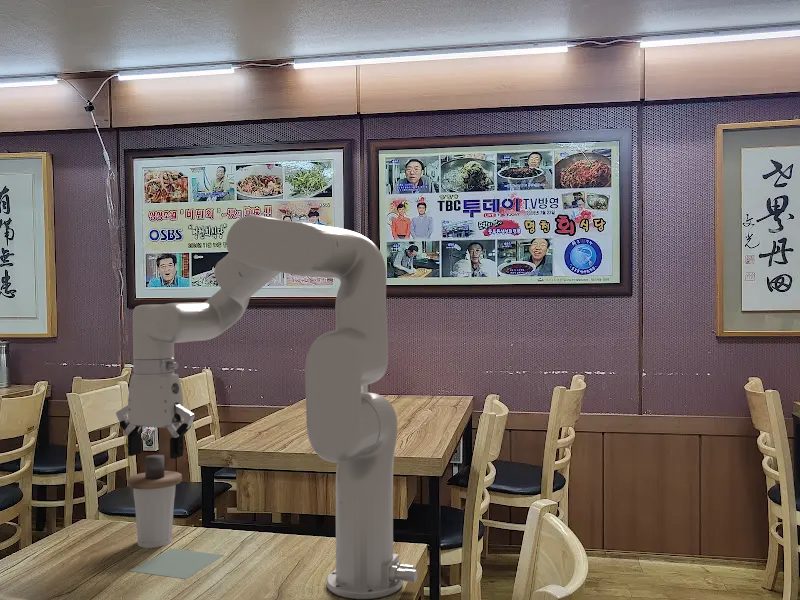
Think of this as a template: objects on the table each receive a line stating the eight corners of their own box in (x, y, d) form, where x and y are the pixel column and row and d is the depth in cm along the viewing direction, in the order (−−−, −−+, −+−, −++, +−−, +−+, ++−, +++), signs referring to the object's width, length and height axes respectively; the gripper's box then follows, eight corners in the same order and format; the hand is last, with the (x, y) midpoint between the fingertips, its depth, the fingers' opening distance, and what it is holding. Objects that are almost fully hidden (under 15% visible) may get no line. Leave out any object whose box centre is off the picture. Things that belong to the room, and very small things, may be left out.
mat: (223, 557, 130) (223, 555, 130) (186, 581, 119) (186, 578, 119) (170, 550, 133) (170, 548, 133) (129, 573, 122) (129, 570, 122)
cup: (162, 552, 132) (162, 488, 132) (124, 549, 134) (124, 486, 134) (184, 538, 140) (183, 478, 140) (147, 535, 142) (147, 476, 142)
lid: (192, 477, 140) (191, 452, 140) (160, 491, 131) (160, 464, 131) (149, 474, 143) (149, 449, 143) (115, 487, 134) (115, 460, 134)
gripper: (203, 366, 138) (205, 454, 138) (130, 365, 143) (131, 449, 143) (180, 370, 131) (181, 462, 131) (103, 369, 136) (105, 457, 136)
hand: (155, 456), depth 137 cm, fingers open, 9 cm apart
